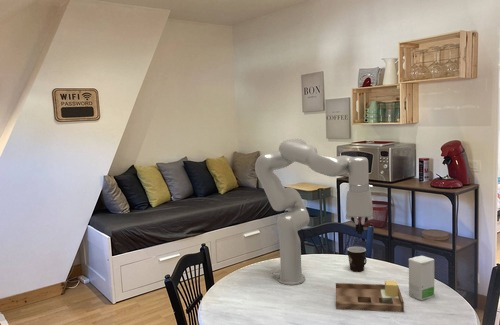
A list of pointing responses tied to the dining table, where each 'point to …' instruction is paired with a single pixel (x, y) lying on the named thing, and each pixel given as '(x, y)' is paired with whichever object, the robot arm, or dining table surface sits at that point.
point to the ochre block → (391, 288)
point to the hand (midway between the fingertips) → (359, 233)
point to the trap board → (367, 298)
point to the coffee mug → (357, 258)
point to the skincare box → (421, 277)
